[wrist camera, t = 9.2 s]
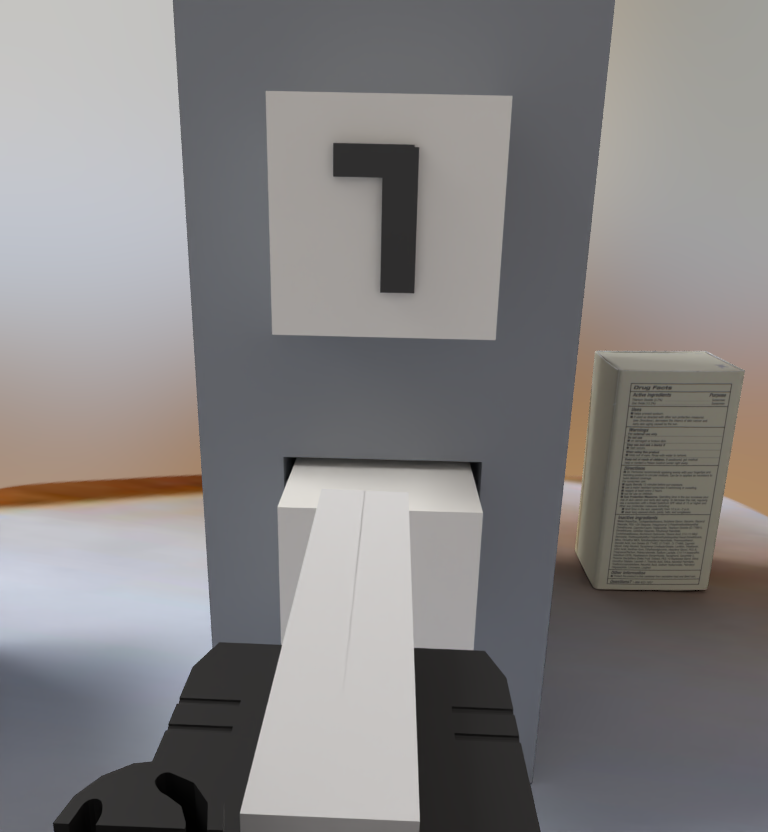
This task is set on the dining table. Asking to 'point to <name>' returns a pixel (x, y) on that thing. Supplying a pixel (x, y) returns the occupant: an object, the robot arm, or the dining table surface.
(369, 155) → the white protruding block
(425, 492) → the plain button
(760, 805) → the dining table surface
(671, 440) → the skincare box
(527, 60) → the grey upright slab
